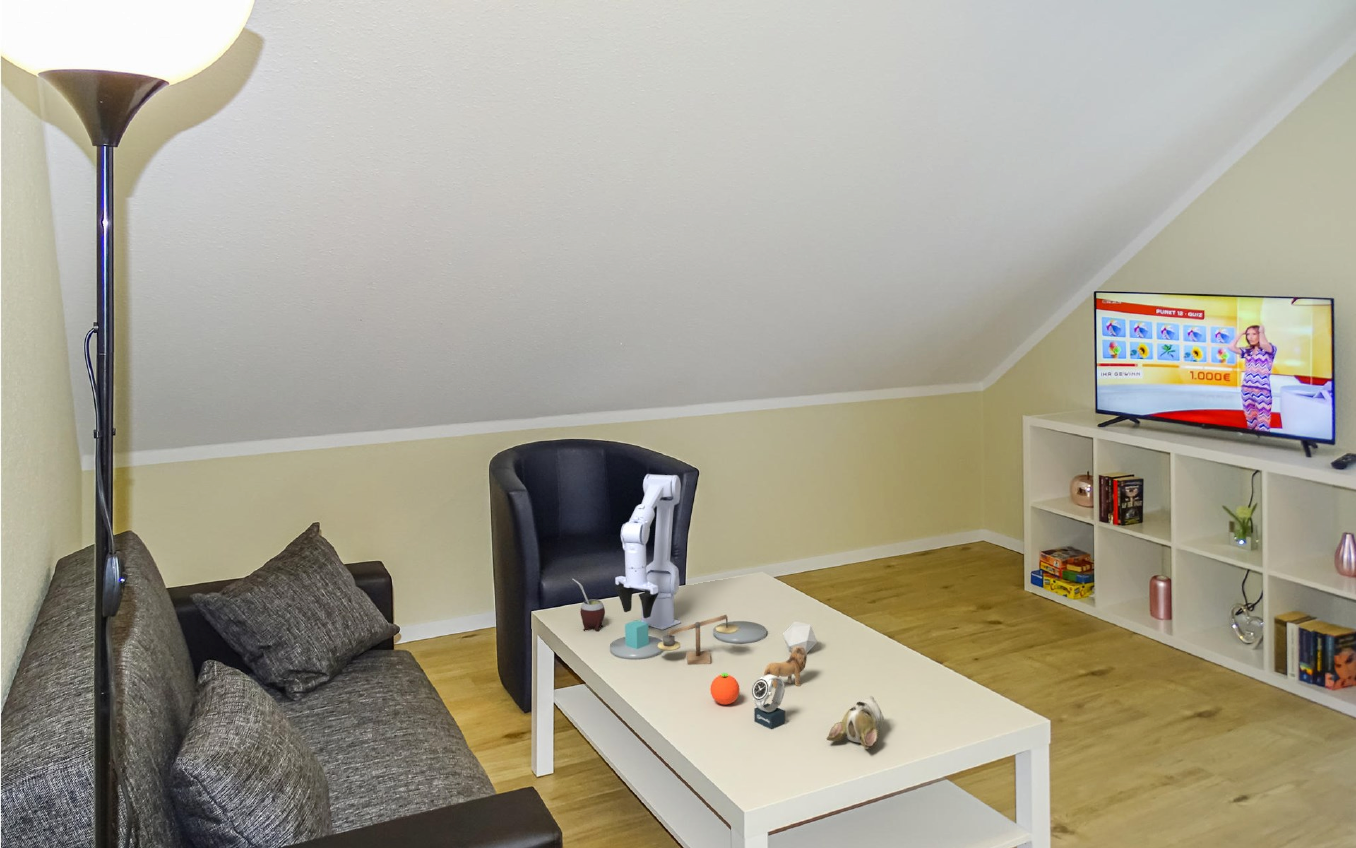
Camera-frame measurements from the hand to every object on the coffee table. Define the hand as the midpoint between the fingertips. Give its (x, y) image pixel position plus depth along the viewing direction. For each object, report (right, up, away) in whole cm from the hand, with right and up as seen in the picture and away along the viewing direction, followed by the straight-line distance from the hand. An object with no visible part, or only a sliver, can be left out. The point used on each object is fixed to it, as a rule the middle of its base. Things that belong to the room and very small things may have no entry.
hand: (637, 614), depth 277 cm
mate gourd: (-14, -8, +18) cm, 24 cm away
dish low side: (0, -10, +1) cm, 10 cm away
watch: (+32, -16, -46) cm, 58 cm away
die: (+44, -10, -3) cm, 45 cm away
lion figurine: (+37, -13, -26) cm, 47 cm away
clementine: (+22, -15, -34) cm, 44 cm away
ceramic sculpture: (+51, -17, -55) cm, 77 cm away
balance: (+17, -11, -7) cm, 21 cm away
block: (0, -9, +1) cm, 9 cm away
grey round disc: (+29, -8, +11) cm, 32 cm away
